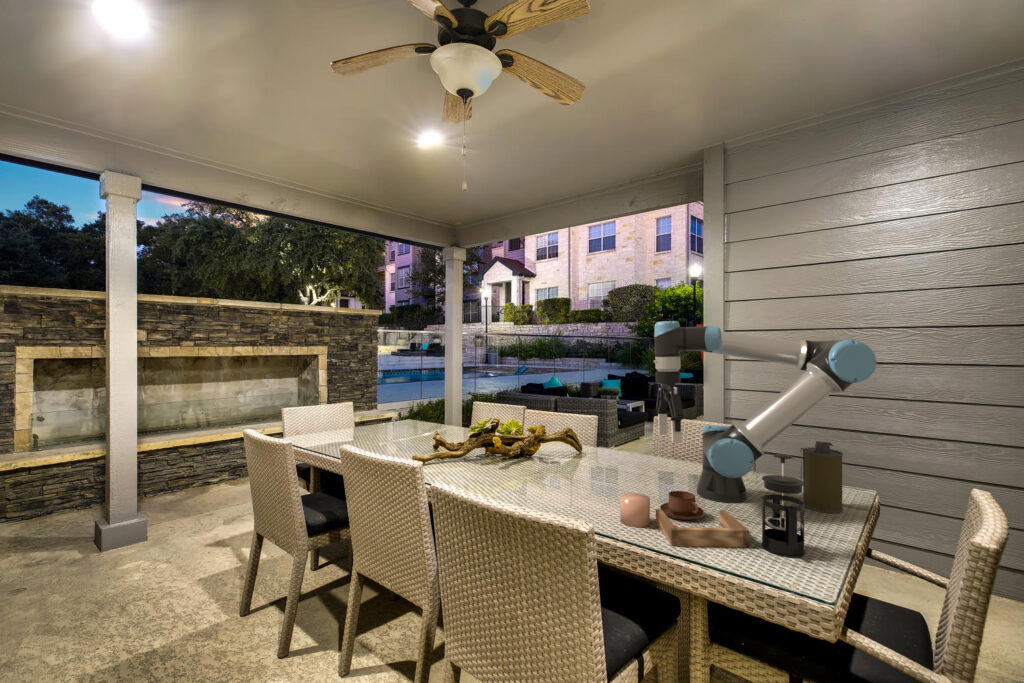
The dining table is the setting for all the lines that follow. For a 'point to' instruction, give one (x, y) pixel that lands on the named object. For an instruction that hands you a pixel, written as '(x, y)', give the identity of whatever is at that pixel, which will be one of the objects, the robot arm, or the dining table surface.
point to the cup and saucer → (682, 506)
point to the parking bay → (705, 532)
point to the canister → (822, 478)
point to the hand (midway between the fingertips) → (669, 438)
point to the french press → (784, 529)
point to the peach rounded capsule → (635, 510)
